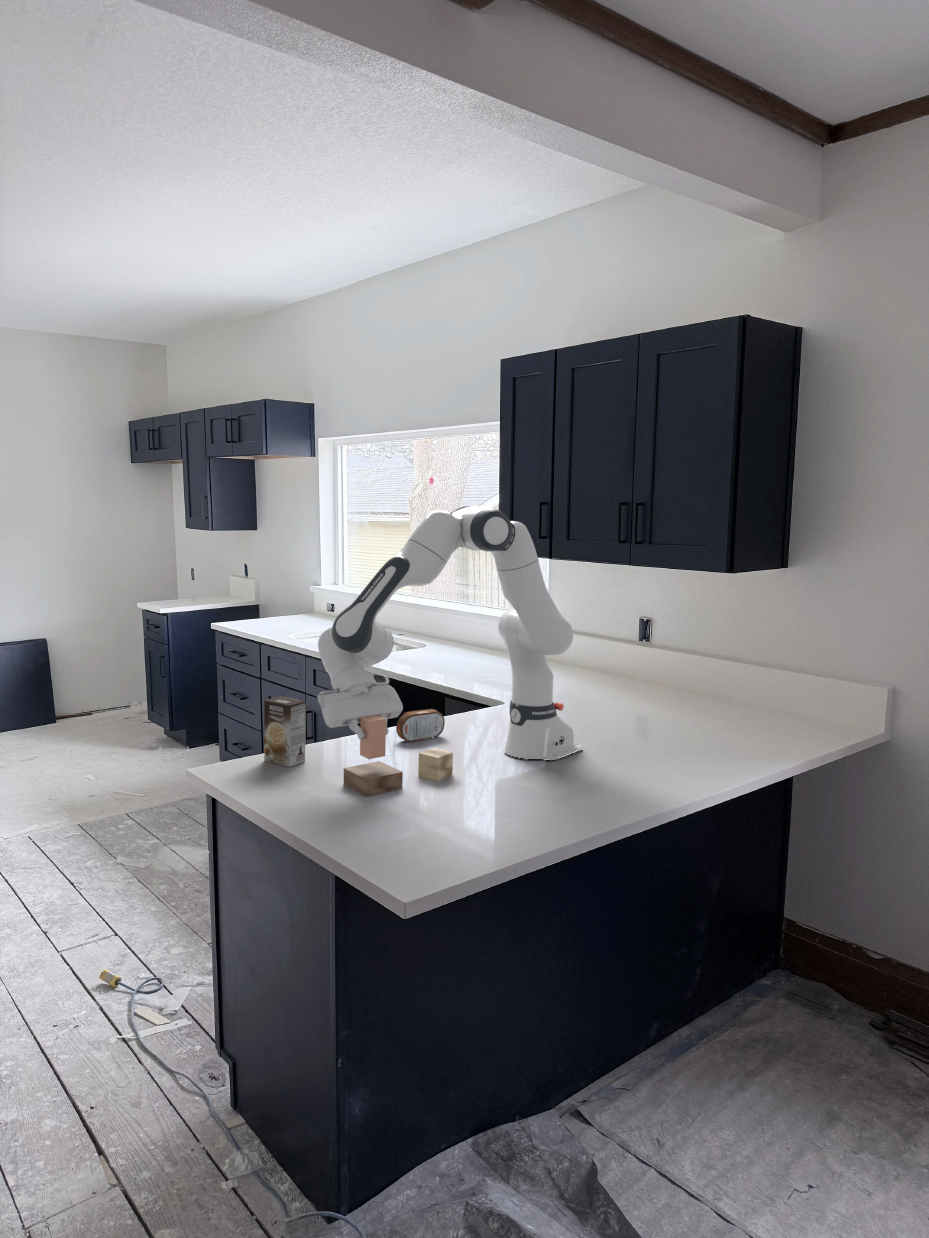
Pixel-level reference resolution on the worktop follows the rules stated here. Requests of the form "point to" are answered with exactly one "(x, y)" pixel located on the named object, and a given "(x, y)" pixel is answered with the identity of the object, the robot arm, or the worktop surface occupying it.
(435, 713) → the tin
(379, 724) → the terracotta block
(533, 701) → the robot arm
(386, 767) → the walnut block
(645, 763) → the worktop surface
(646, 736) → the worktop surface
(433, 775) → the oak cube
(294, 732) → the coffee box
